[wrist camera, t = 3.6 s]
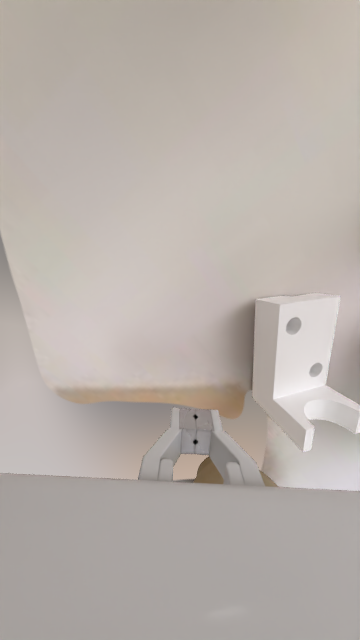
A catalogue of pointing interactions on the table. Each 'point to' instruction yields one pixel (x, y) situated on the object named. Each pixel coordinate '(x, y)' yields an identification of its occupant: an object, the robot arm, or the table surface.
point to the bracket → (298, 365)
